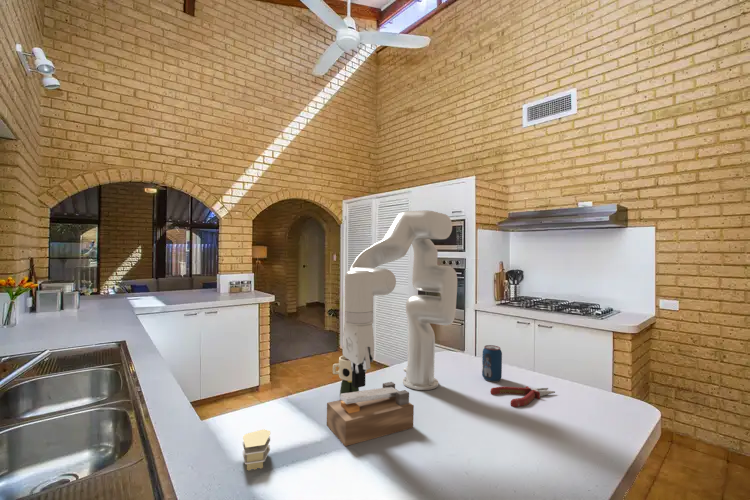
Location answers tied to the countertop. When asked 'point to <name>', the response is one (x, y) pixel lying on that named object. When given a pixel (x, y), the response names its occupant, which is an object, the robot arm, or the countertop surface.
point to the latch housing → (370, 417)
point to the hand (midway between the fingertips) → (358, 385)
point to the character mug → (345, 375)
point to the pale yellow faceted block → (256, 448)
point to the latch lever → (368, 395)
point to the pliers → (522, 391)
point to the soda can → (492, 363)
